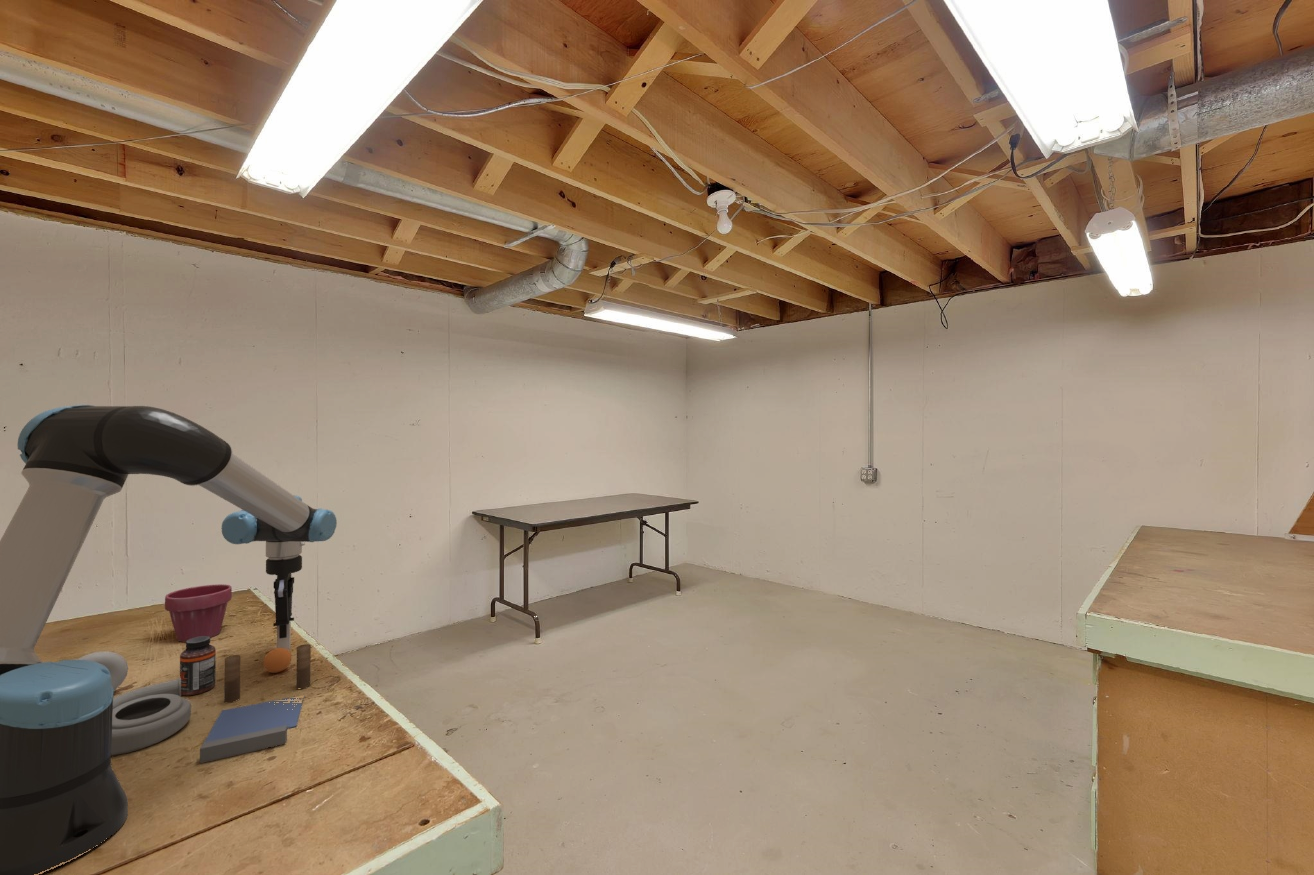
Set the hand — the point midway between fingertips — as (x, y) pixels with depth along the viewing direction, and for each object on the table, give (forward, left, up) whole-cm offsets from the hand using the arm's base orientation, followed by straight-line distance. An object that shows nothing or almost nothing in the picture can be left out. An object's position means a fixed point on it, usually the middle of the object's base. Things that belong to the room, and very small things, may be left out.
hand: (283, 648), depth 133 cm
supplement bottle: (-13, +14, -2) cm, 19 cm away
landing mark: (-34, 0, -2) cm, 34 cm away
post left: (-22, +6, -2) cm, 22 cm away
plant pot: (+28, +23, -2) cm, 37 cm away
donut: (-8, +32, -2) cm, 33 cm away
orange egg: (-10, 0, +1) cm, 10 cm away
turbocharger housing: (-29, +19, -3) cm, 34 cm away
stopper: (-46, 0, -2) cm, 46 cm away
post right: (-22, -6, -2) cm, 22 cm away
